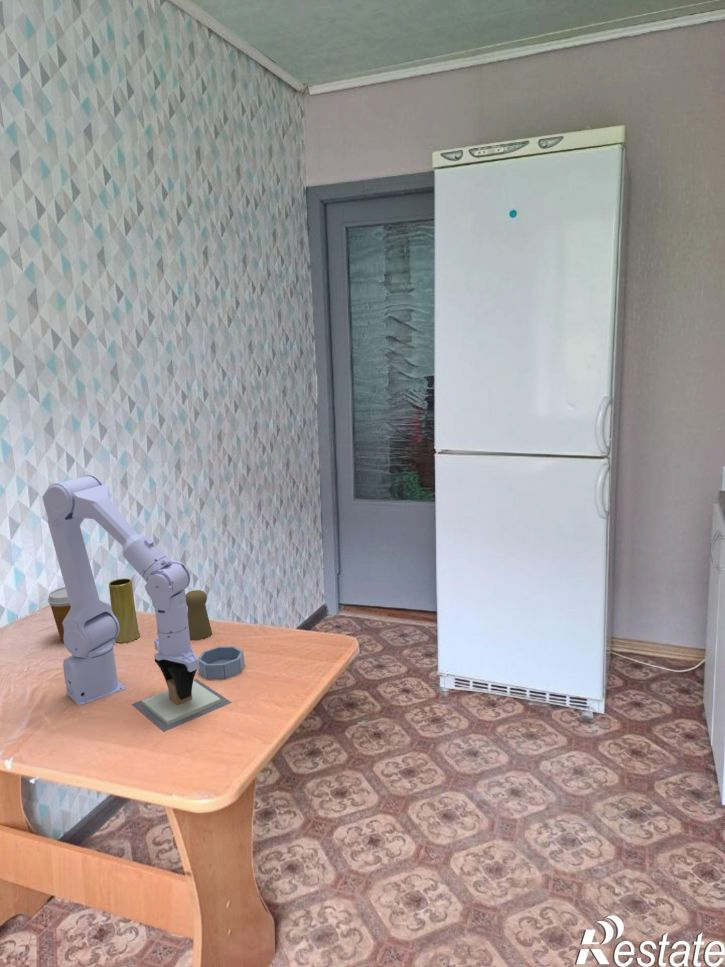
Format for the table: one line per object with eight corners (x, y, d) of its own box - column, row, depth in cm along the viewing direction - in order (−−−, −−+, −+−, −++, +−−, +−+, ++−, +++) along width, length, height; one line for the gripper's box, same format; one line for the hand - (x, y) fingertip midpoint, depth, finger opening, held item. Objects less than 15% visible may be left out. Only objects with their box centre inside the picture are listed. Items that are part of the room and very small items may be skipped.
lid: (167, 725, 123) (164, 701, 122) (142, 704, 131) (139, 681, 130) (220, 702, 130) (218, 679, 129) (193, 683, 138) (191, 661, 137)
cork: (208, 639, 161) (204, 595, 159) (183, 640, 161) (178, 596, 159) (214, 629, 167) (210, 587, 164) (190, 630, 167) (185, 588, 165)
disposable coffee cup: (95, 627, 172) (89, 582, 169) (95, 641, 163) (89, 594, 161) (54, 634, 168) (47, 588, 166) (52, 649, 160) (45, 601, 157)
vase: (108, 642, 162) (101, 585, 159) (124, 631, 168) (117, 577, 165) (130, 644, 160) (123, 586, 158) (145, 633, 166) (138, 578, 163)
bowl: (214, 685, 138) (212, 669, 137) (192, 671, 145) (191, 656, 144) (251, 670, 144) (250, 654, 143) (229, 657, 151) (228, 642, 150)
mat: (163, 733, 121) (163, 731, 121) (131, 706, 131) (131, 704, 131) (232, 704, 130) (231, 702, 130) (196, 680, 140) (196, 678, 140)
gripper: (136, 623, 130) (144, 688, 133) (170, 645, 120) (178, 715, 122) (170, 613, 135) (177, 676, 138) (206, 632, 124) (213, 700, 127)
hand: (180, 693), depth 130 cm, fingers open, 3 cm apart
